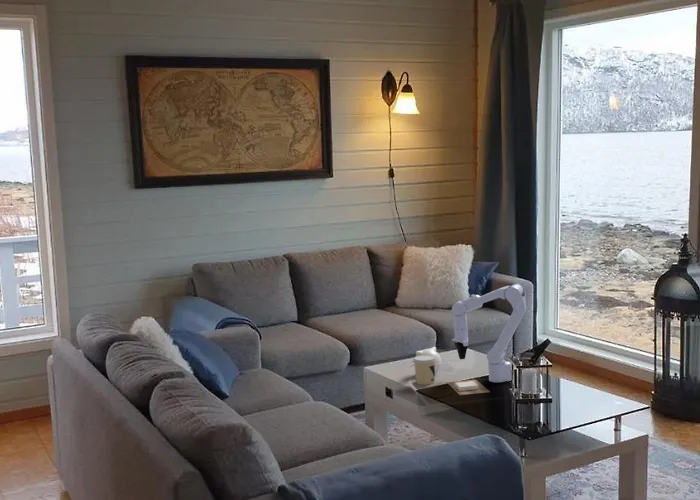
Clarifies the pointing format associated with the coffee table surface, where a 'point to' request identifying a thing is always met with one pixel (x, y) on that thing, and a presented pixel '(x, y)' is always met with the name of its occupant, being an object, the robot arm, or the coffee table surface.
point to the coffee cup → (425, 369)
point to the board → (480, 390)
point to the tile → (466, 386)
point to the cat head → (431, 353)
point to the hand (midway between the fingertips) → (462, 358)
